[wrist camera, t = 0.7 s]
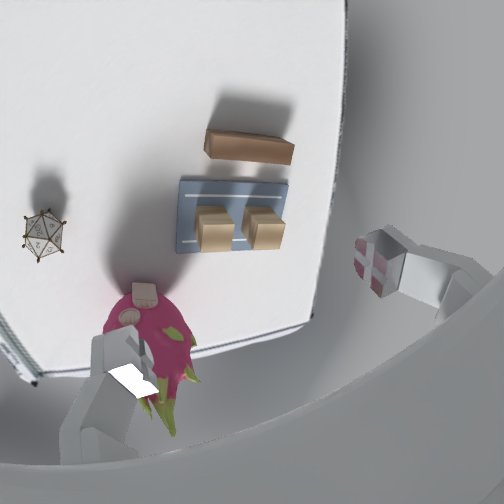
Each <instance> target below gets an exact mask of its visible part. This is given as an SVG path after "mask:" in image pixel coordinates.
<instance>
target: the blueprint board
mask: <svg viewBox="0 0 504 504" xmlns="http://www.w3.org/2000/svg"><path fill="white" fill-rule="evenodd" d="M288 187H289V185H288V184H281V183H265V182H246V181H219V180H180V183H179V197H178V214H177V236H176V253H197V252H201V251H200V249H199V246H198V243H197V240H196V237H195V234H194V221H195V209H196V206H224V208H225V209H226V211H227V213H228V214H229V216H230V217H231V219H232V221H233V222H234V224H235V227H234V233H233V240H232V246H231V251H240V250H253V249H252V248H251V246H250V244H249V243H248V241H247V240H246V238H245V236H244V235H243V233H242V232H241V226H242V220H243V214H244V208H245V206H257V207H271V209H272V210H273V211H274V212H275V213H276V214H277V215H278V216H279V217H280V218H281V217H282V213H283V209H284V204H285V200H286V196H287V191H288Z"/></svg>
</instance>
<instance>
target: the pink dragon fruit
mask: <svg viewBox="0 0 504 504" xmlns="http://www.w3.org/2000/svg"><path fill="white" fill-rule="evenodd" d="M129 325H133V326H134V327H135V328H136V330H137V331H138V337H139V338H142V339H144V340H145V341H146V343H147V344H148V346H149V348H150V350H151V353H152V356H153V360H154V366H153V368H152V371H153V372H154V374H155V375H156V379H157V385H158V392H155V393H152V394H149V395H146V396H142V397H139V398H138V400H139V402H140V404H141V406H142V408H143V410H145V411H146V412H147V411H148V414H149V415H150V416H151V419H152V414H151V408H150V406H149V403H148V398H149V399H150V401H151V402H152V404H153V405H154V407H155V409H156V411H157V412H158V414H159V416H160V417H161V419H162V421H163V422H164V424H165V426H166V427H167V429H168V430H169V432H170V434H171V436H172V437H174V436H175V434H176V429H175V423H174V416H173V410H174V405H175V399H176V391H177V385H178V384H179V382H180V381H181V380H182V379H188V380H191V381H193V382H197V383H198V382H201V381H200V380H198V379H197V378H196V376H195V373H194V370H193V366H192V362H191V357H190V350H191V348H192V347H194V346H197V344H196V341H195V338H194V336H193V334H192V332H191V330H190V329H189V327H188V326H187V324H186V323H185V321H184V319H183V317H182V315H181V313H180V311H179V310H178V309H177V307H176V306H175V305H174V304H173V303H172V302H171V301H170V300H168V299H167V298H166V297H164V296H163V295H161V294H159V293H157V291H156V286H155V284H153V283H136V282H132V293H130V294H128V295H126V296H124V297H123V298H122V299H120V300H119V301H118V302H117V303H116V305H115V306H114V307H113V309H112V310H111V312H110V314H109V317H108V320H107V321H106V323H105V325H104V327H103V334H105V333H107V332H110V331H113V330H116V329H120V328H123V327H126V326H129Z"/></svg>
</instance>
